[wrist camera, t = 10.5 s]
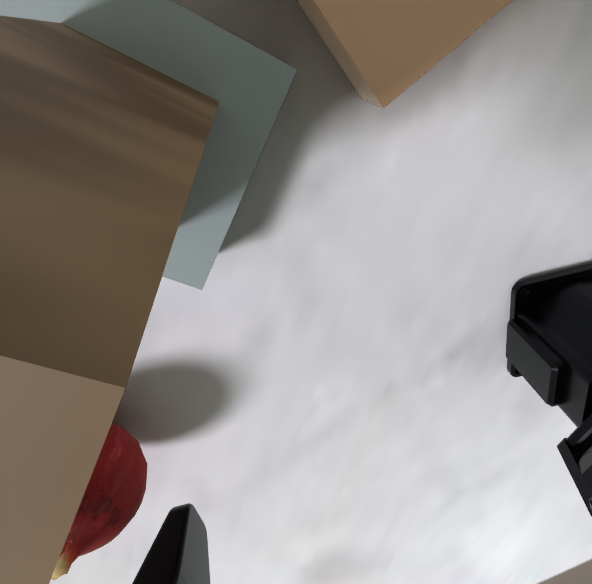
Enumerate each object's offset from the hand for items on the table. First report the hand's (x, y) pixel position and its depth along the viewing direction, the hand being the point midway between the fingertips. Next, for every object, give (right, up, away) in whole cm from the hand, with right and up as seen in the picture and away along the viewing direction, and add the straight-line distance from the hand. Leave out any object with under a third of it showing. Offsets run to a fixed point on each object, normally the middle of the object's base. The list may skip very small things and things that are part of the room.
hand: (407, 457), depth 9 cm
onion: (-13, -4, +16) cm, 21 cm away
